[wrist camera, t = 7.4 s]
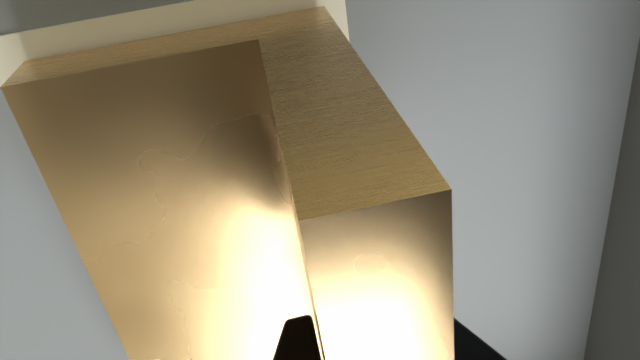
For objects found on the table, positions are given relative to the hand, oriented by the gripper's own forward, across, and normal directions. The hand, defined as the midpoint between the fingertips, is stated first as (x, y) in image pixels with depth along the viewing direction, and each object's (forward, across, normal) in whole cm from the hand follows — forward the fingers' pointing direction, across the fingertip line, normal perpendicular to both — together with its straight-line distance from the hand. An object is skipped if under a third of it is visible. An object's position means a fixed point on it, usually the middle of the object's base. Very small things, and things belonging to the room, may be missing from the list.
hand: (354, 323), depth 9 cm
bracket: (+3, +2, 0) cm, 4 cm away
